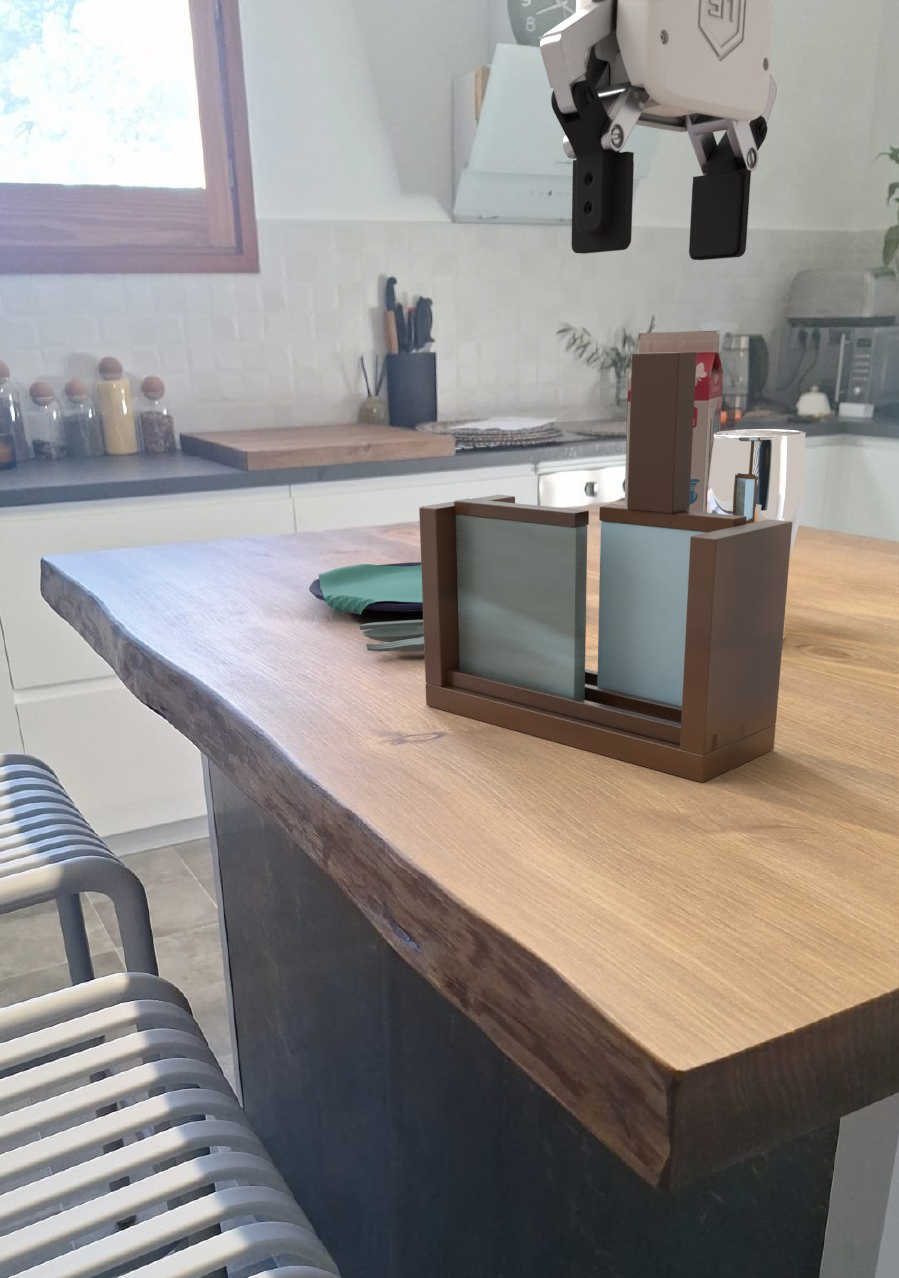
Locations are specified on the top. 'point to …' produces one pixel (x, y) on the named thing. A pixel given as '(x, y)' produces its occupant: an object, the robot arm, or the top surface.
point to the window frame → (556, 636)
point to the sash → (652, 536)
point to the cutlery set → (377, 600)
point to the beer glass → (757, 476)
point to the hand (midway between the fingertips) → (661, 254)
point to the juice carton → (704, 403)
